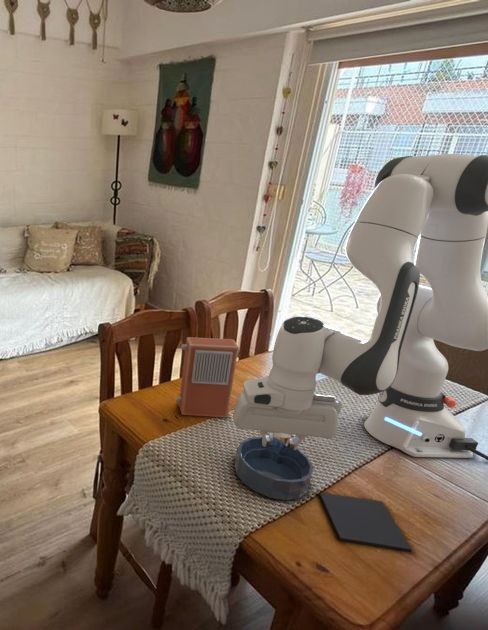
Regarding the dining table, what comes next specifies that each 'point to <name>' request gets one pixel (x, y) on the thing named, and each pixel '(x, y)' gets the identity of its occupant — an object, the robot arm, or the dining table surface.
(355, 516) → the mat
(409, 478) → the dining table surface
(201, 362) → the pink box with grille
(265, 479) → the dish
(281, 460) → the milkshake
